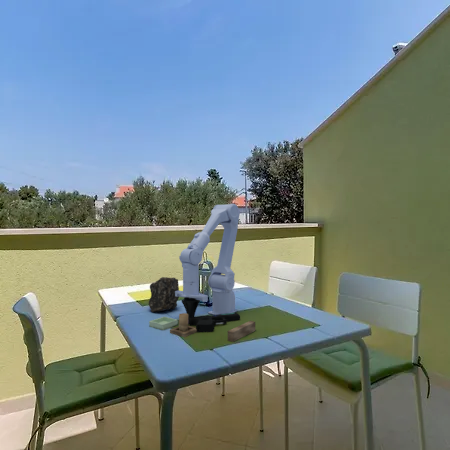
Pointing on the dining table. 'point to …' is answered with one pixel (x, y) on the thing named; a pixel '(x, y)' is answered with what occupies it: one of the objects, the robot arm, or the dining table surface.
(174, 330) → the socket
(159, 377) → the dining table surface
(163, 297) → the rock
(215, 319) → the handgun
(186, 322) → the dowel
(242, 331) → the rail
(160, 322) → the tray
